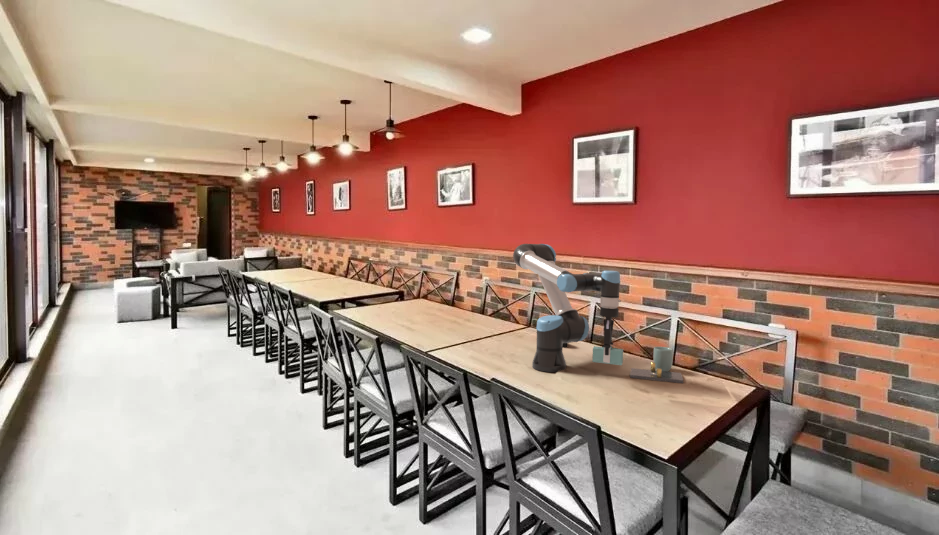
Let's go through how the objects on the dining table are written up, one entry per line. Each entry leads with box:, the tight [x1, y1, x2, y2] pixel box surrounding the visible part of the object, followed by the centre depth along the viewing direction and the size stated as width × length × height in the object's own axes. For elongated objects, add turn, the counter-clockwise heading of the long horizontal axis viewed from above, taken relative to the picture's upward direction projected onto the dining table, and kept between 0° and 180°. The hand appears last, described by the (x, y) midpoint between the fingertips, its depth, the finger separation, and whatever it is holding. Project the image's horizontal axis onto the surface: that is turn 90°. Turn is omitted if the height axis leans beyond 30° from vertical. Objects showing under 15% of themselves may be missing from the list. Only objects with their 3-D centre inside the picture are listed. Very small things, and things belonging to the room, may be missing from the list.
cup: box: [652, 346, 674, 372], centre depth 199 cm, size 8×8×10 cm
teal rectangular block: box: [592, 345, 624, 366], centre depth 193 cm, size 12×4×7 cm, turn 66°
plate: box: [629, 361, 684, 384], centre depth 190 cm, size 20×12×5 cm, turn 69°
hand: (606, 360), depth 193 cm, fingers closed on teal rectangular block, 4 cm apart
